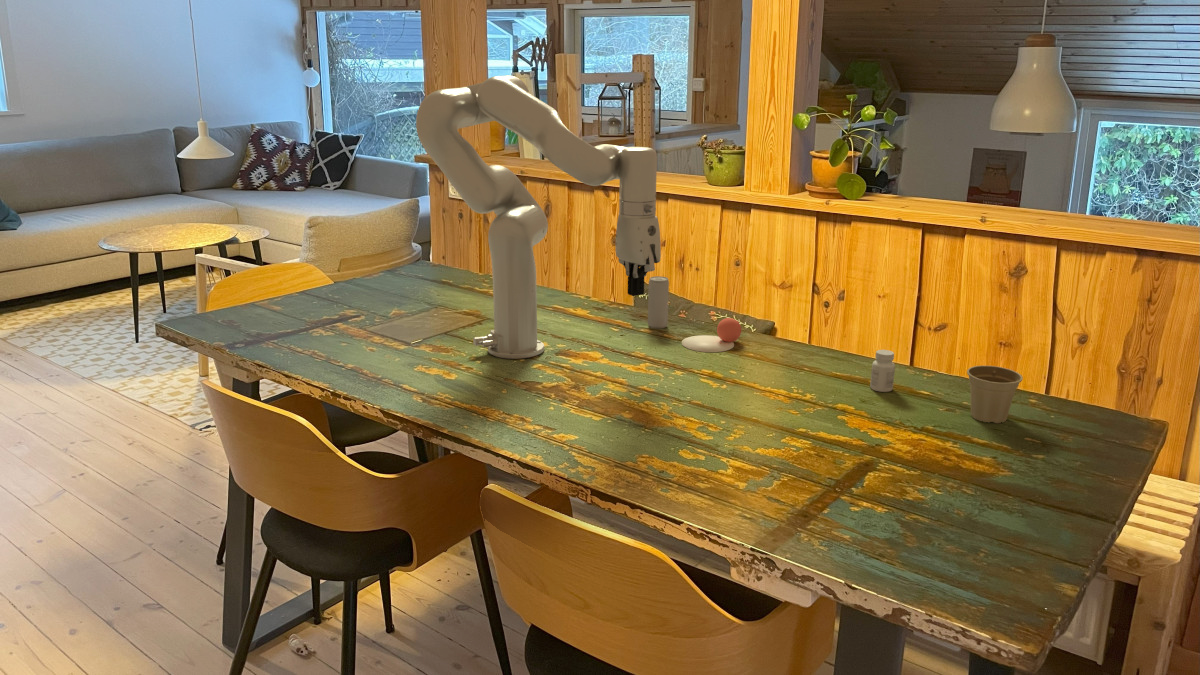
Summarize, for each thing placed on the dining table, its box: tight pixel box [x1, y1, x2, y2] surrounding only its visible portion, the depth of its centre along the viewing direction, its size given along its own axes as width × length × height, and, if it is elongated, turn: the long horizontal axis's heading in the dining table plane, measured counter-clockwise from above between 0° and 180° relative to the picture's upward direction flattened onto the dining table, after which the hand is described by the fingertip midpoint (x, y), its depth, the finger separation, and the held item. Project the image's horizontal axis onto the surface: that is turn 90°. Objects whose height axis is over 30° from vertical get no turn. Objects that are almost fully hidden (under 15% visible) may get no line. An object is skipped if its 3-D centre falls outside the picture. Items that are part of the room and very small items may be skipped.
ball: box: [716, 317, 742, 343], centre depth 214 cm, size 6×6×6 cm
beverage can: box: [647, 275, 670, 330], centre depth 224 cm, size 5×5×12 cm
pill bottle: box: [869, 349, 896, 393], centre depth 185 cm, size 4×4×8 cm
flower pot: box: [966, 365, 1024, 424], centre depth 171 cm, size 9×9×9 cm
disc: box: [681, 335, 735, 353], centre depth 213 cm, size 12×12×1 cm
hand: (635, 294), depth 196 cm, fingers closed
